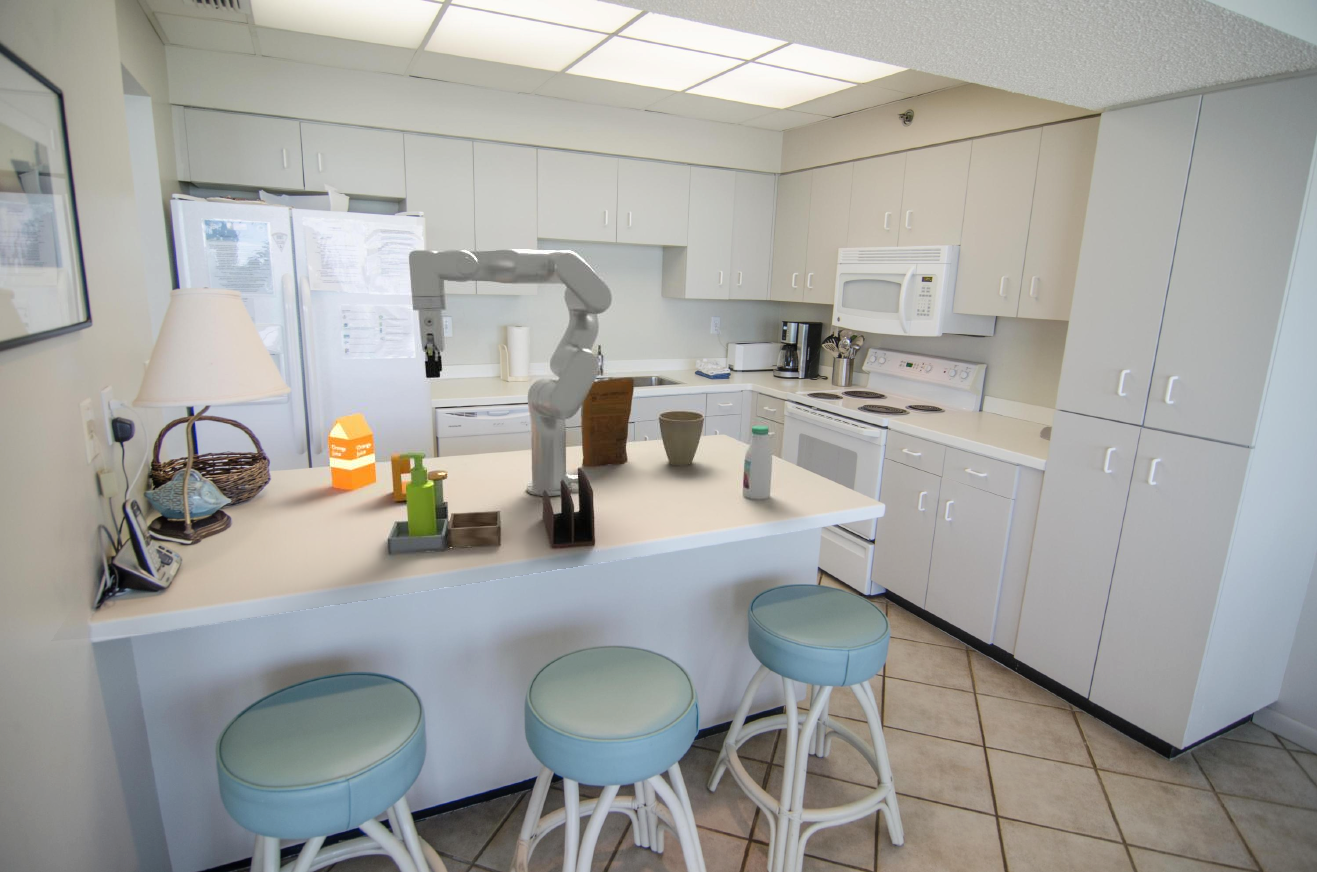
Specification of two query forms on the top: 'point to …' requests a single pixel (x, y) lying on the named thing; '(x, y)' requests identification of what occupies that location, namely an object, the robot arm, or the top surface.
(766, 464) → the milk bottle
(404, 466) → the bracket
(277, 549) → the top surface
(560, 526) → the letter holder
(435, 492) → the plunger
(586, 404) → the pancake mix bag
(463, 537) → the wooden box
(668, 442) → the plant pot
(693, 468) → the top surface
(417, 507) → the soap dispenser
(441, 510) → the plunger collar
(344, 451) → the orange juice
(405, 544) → the tray
